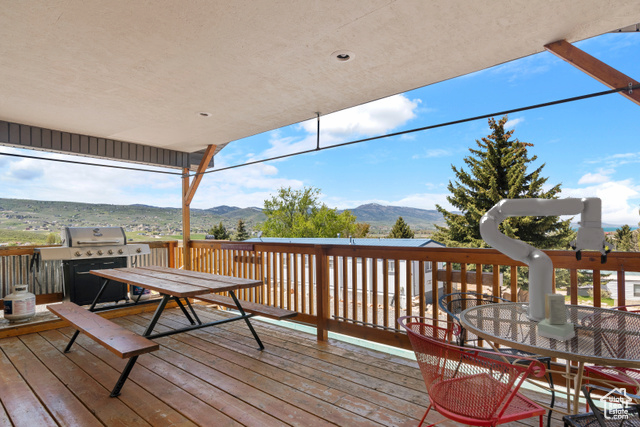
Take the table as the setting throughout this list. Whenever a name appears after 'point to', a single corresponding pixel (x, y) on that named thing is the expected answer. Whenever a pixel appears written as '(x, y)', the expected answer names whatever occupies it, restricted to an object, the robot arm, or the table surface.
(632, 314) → the table surface
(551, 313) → the skincare box
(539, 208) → the robot arm
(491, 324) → the table surface
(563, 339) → the bottom slab
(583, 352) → the table surface
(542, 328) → the top slab
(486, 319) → the table surface
